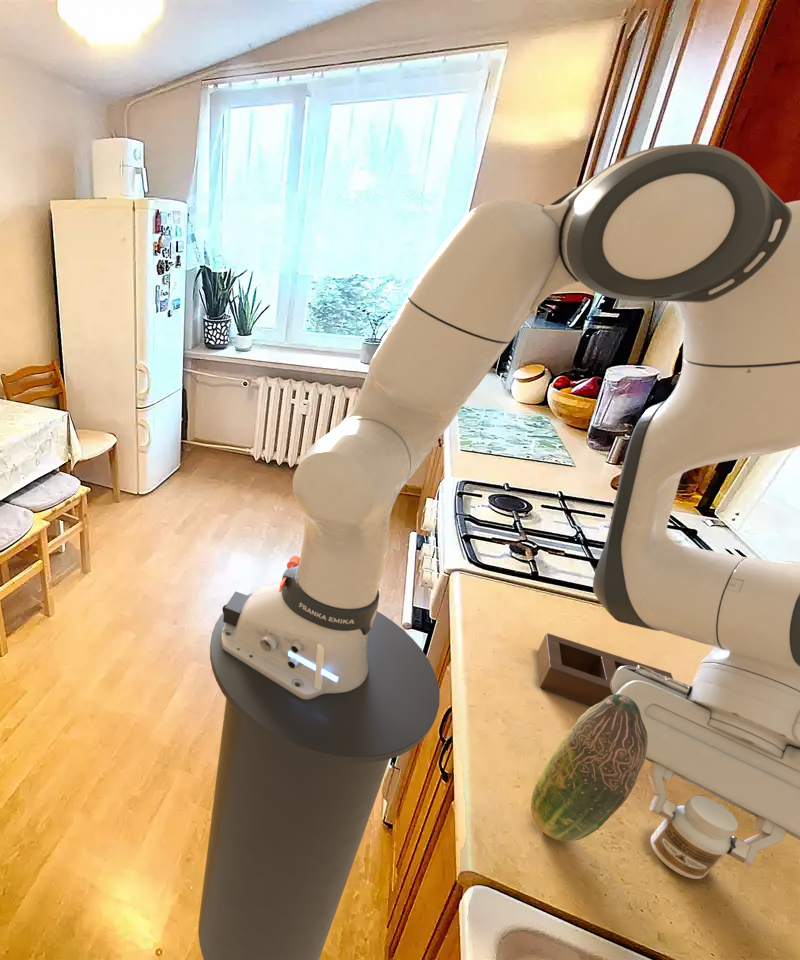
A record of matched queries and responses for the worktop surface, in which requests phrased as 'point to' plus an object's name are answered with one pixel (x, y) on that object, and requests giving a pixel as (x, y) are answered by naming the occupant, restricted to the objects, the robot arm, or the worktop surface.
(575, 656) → the holder
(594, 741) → the vegetable
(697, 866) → the pill bottle
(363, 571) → the robot arm
